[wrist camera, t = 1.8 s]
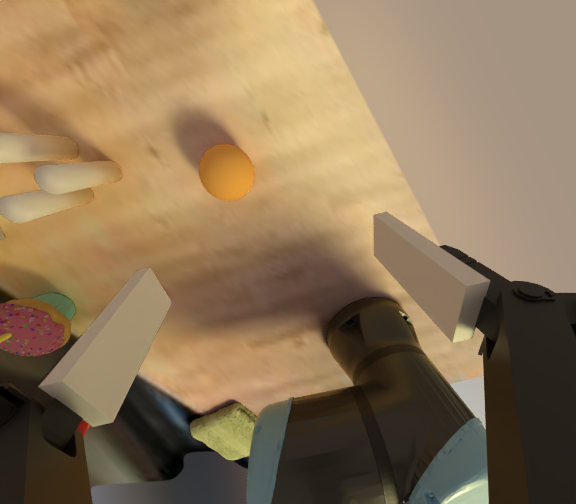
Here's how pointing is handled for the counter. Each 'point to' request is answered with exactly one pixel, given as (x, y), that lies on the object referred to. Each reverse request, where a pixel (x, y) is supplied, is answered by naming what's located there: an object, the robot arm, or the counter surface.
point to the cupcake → (35, 324)
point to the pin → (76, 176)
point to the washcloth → (226, 431)
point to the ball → (226, 172)
